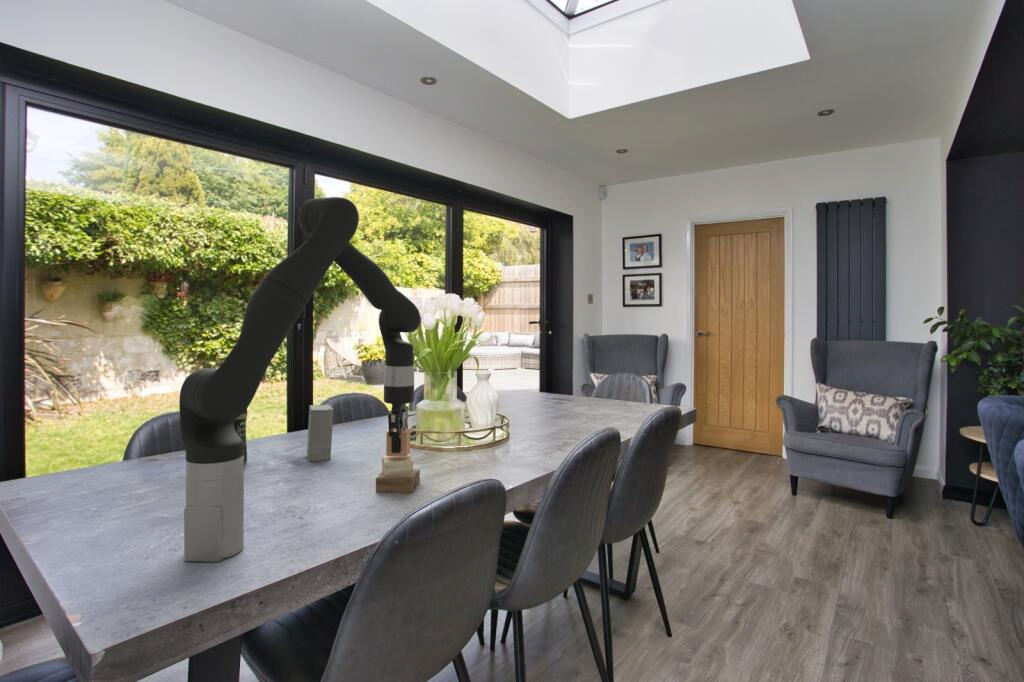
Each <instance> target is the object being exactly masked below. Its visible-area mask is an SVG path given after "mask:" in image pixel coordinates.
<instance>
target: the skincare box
mask: <svg viewBox="0 0 1024 682" xmlns="http://www.w3.org/2000/svg"><path fill="white" fill-rule="evenodd" d="M308 410H309V411H308V412H309V413H308V425H307V426H308V427H307V428H308V429H307V442H306V457H307V460H308V461H309V462H315V461H316V462H318V461H330V460H332V458H331V456H332V455H331V454H332V443H333V442H332V440H333V423H334V409H333V407H332V406H331V405H330V404H311V405H309V407H308Z"/></svg>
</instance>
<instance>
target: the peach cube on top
mask: <svg viewBox="0 0 1024 682" xmlns="http://www.w3.org/2000/svg"><path fill="white" fill-rule="evenodd" d="M394 432H397V429H394ZM401 435H402V437H401V452H400V453H392V452H391V448H392V438H391V437H389V430H387V431H386V453H385V455H386V456H407V455H408V454H410V453H411V428H407V429H402V432H401Z"/></svg>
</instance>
